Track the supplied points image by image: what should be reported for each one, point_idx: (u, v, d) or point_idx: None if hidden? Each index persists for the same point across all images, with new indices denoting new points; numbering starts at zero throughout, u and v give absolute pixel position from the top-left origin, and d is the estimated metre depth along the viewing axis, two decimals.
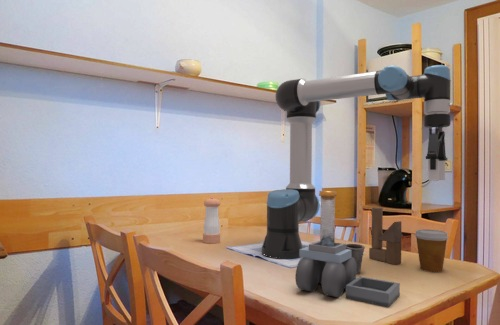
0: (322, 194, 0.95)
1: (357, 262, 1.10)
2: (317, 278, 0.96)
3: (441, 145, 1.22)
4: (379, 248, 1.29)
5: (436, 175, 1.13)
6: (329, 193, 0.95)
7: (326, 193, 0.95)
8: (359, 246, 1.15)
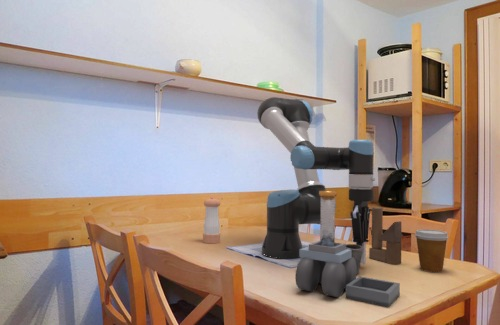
0: (322, 194, 0.95)
1: (356, 263, 1.09)
2: (317, 278, 0.96)
3: (364, 220, 1.18)
4: (379, 248, 1.29)
5: (362, 258, 1.17)
6: (329, 193, 0.95)
7: (326, 193, 0.95)
8: (358, 246, 1.14)
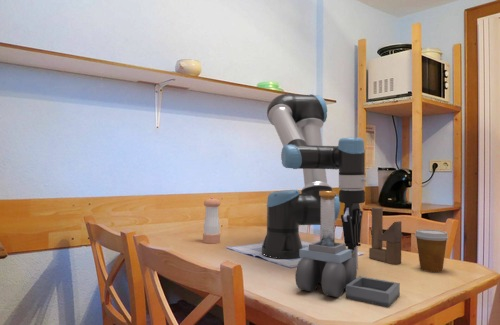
0: (322, 194, 0.95)
1: None
2: (317, 278, 0.96)
3: (355, 223, 1.11)
4: (379, 248, 1.29)
5: None
6: (329, 193, 0.95)
7: (326, 193, 0.95)
8: None
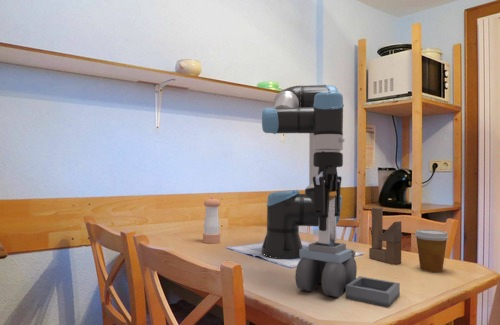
0: None
1: None
2: (317, 278, 0.96)
3: None
4: (379, 248, 1.29)
5: (326, 237, 0.94)
6: (329, 193, 0.95)
7: None
8: None
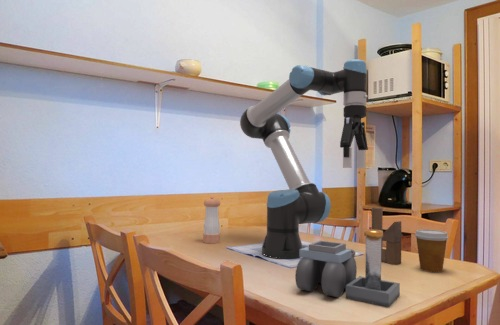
0: (368, 234, 0.89)
1: None
2: (317, 278, 0.96)
3: (360, 135, 1.29)
4: None
5: (349, 162, 1.20)
6: (376, 234, 0.89)
7: (373, 234, 0.89)
8: None
